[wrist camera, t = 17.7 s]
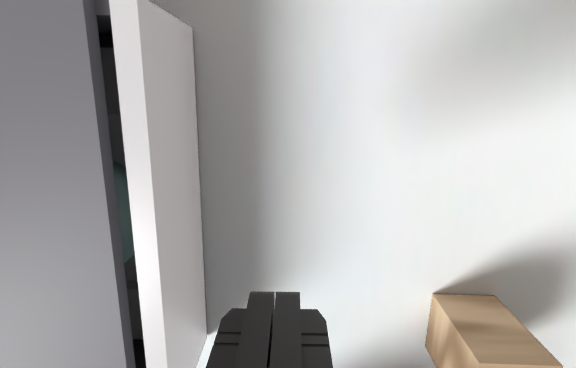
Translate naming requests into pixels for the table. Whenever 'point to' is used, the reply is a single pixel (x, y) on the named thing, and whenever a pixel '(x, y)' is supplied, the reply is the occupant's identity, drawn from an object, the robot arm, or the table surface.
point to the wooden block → (481, 335)
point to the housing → (59, 193)
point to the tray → (158, 177)
